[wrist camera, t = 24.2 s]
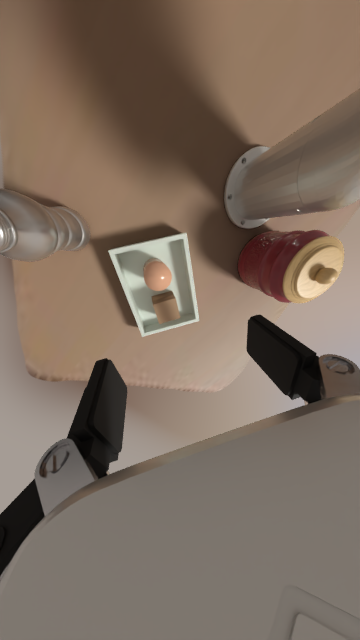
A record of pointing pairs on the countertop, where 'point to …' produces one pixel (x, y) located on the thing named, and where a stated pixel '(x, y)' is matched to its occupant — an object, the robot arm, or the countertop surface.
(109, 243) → the countertop surface
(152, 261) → the tan rounded-top part
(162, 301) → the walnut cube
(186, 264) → the box
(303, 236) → the canister
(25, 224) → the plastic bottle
